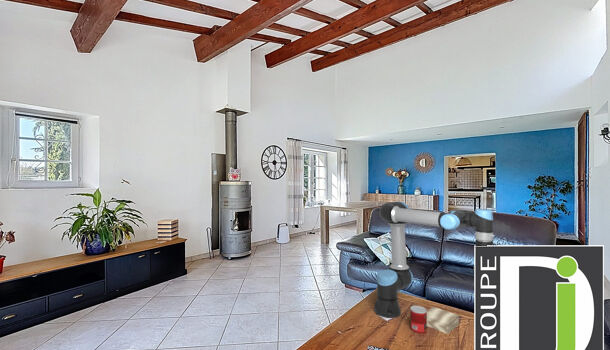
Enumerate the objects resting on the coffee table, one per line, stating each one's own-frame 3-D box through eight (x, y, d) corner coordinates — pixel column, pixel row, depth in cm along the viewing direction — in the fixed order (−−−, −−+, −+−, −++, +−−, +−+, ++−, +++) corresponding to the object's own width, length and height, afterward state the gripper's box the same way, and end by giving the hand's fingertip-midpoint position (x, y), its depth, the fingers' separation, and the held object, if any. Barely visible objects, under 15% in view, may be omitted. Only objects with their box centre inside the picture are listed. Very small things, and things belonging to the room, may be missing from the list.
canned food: (428, 334, 144) (428, 312, 144) (411, 332, 146) (411, 311, 146) (425, 326, 152) (424, 306, 152) (409, 325, 153) (409, 304, 153)
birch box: (421, 323, 155) (421, 314, 155) (433, 315, 164) (433, 306, 164) (447, 334, 144) (447, 324, 144) (458, 324, 153) (458, 315, 153)
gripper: (481, 245, 130) (482, 291, 130) (502, 238, 146) (502, 279, 145) (464, 242, 136) (465, 286, 136) (486, 235, 152) (486, 275, 151)
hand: (484, 282), depth 141 cm, fingers open, 13 cm apart
